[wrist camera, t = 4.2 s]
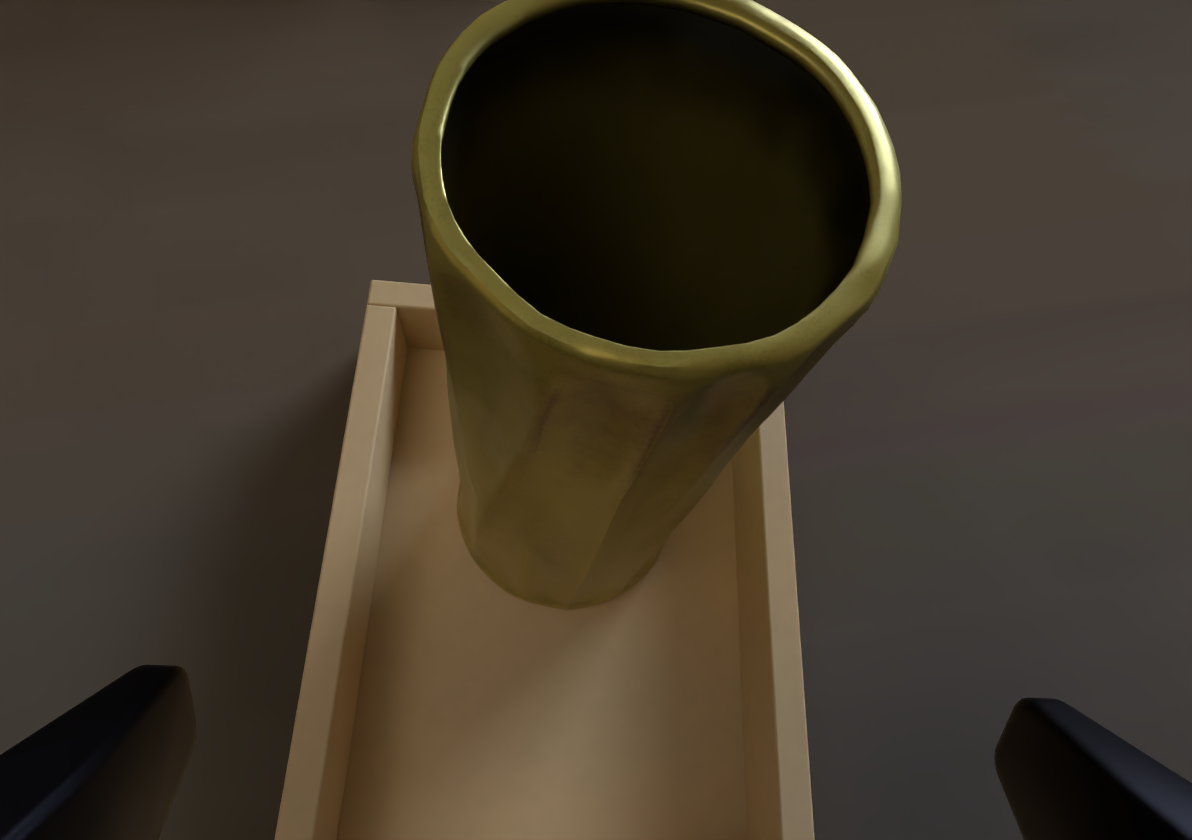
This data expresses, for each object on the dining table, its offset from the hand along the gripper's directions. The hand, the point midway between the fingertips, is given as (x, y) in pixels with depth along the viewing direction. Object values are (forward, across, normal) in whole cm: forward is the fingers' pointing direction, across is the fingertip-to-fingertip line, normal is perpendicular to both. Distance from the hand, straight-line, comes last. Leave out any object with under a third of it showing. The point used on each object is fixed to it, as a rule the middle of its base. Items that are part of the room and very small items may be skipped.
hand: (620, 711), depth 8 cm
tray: (+11, 0, +6) cm, 12 cm away
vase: (+12, 0, +5) cm, 13 cm away
